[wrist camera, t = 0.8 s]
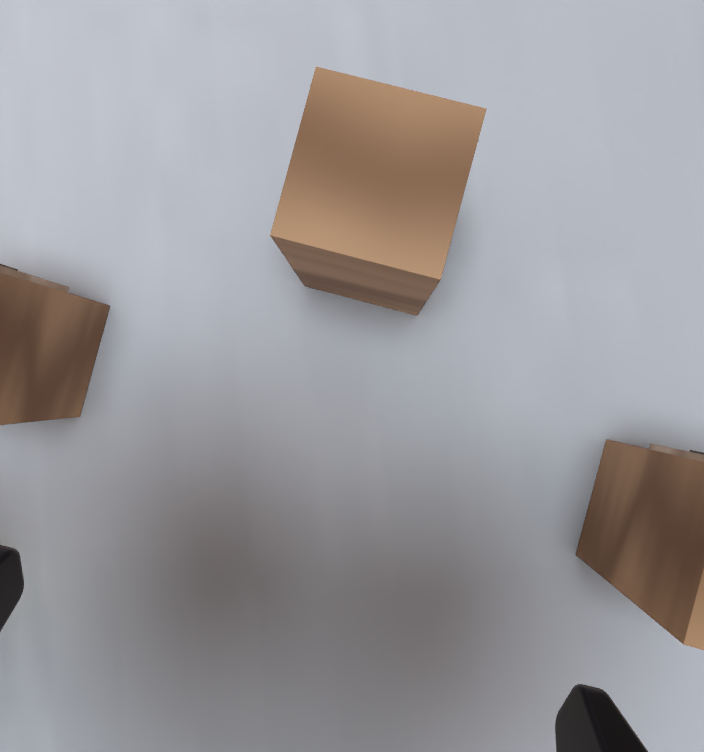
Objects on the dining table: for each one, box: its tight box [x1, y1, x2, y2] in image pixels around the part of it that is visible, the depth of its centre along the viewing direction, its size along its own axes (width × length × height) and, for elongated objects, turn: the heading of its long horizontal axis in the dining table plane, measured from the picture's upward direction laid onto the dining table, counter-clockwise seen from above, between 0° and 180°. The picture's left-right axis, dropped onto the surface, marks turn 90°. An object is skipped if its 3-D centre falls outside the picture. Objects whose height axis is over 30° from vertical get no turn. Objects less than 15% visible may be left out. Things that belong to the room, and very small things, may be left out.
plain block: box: [270, 67, 486, 316], centre depth 20 cm, size 5×5×8 cm
